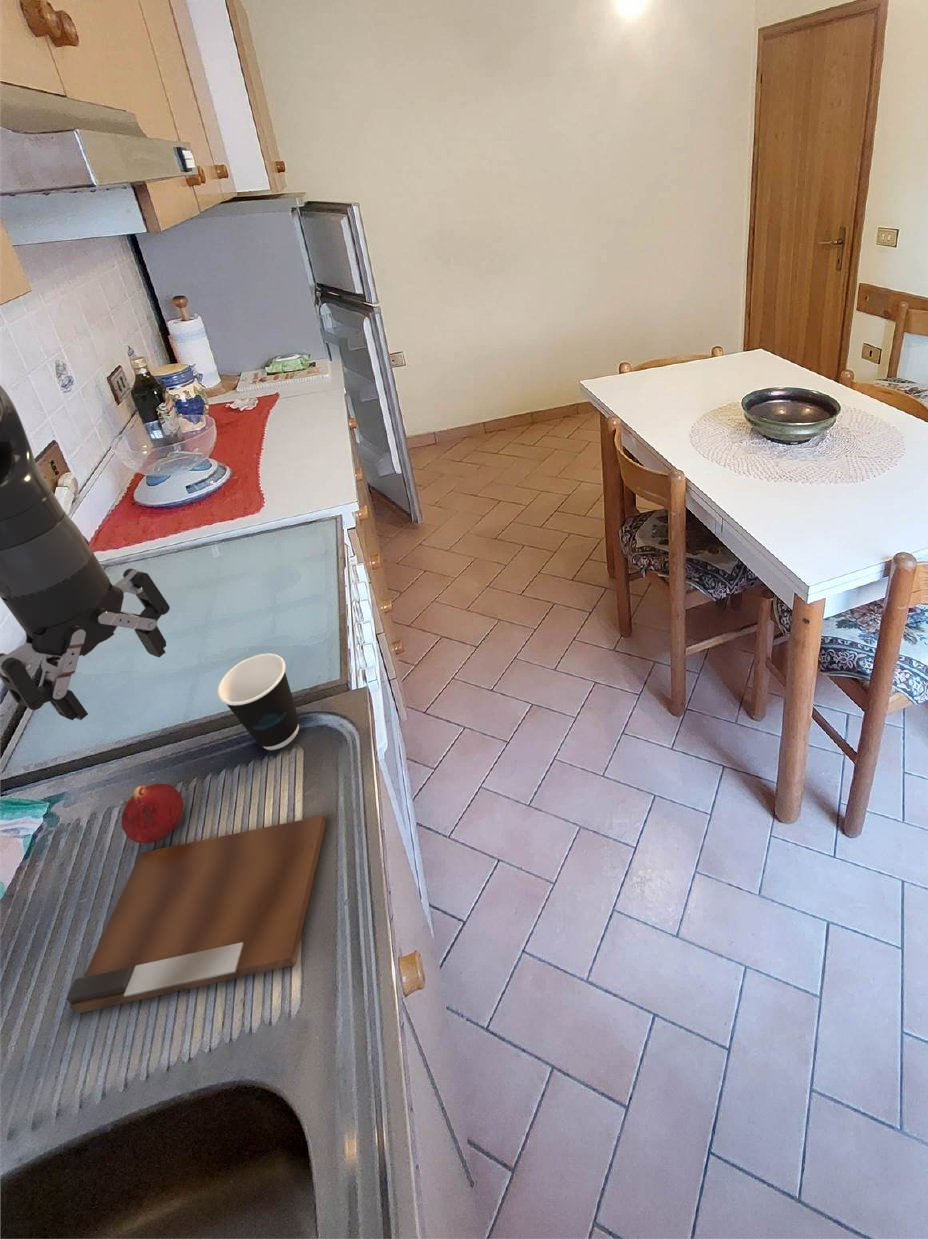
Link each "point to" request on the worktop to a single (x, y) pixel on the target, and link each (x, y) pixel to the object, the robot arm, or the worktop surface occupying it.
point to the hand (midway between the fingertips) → (120, 683)
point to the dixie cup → (261, 699)
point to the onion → (152, 813)
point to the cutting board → (205, 915)
